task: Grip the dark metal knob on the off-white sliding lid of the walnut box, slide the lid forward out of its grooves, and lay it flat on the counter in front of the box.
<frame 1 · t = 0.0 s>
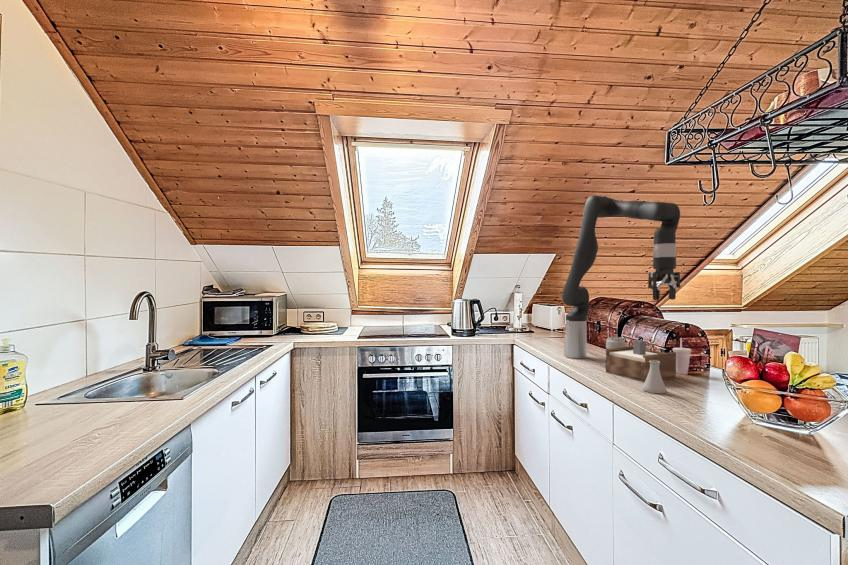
hand: (664, 299, 160), 29 cm above the table, tool pointing down, fingers open, 8 cm apart
smoothie: (681, 374, 167), on the table
lid: (639, 357, 165), point 7 cm above the table, touching walnut box
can: (615, 365, 183), on the table
walnut box: (639, 375, 165), on the table
flask: (654, 391, 142), on the table
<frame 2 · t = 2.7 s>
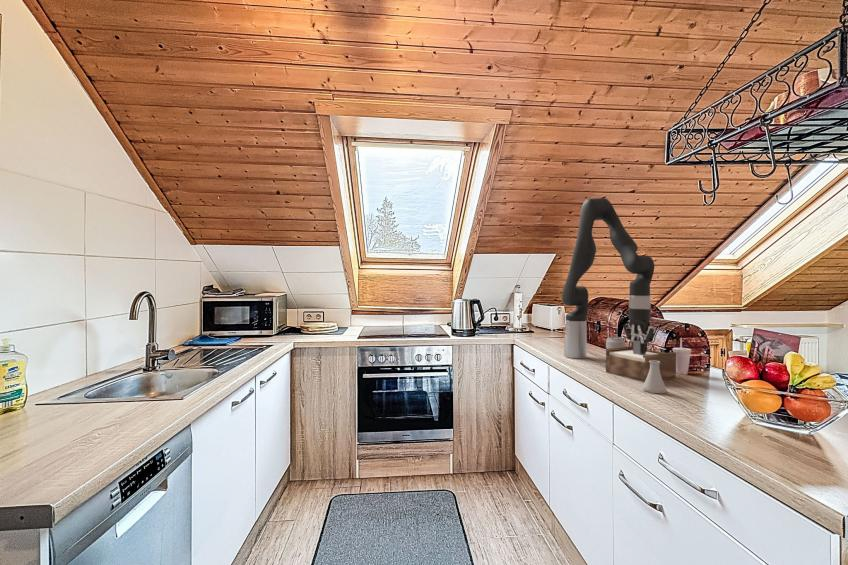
hand: (639, 351, 165), 9 cm above the table, tool pointing down, fingers closed on lid, 3 cm apart
lid: (639, 356, 165), point 7 cm above the table, touching gripper, walnut box
everything else where it was.
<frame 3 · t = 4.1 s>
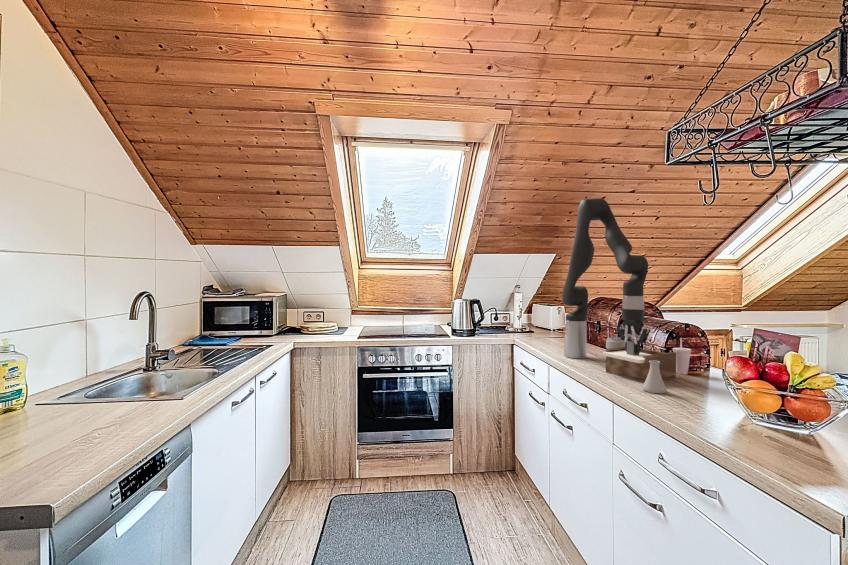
hand: (632, 352, 163), 9 cm above the table, tool pointing down, fingers closed on lid, 3 cm apart
lid: (632, 357, 163), point 7 cm above the table, touching gripper
everything else where it was.
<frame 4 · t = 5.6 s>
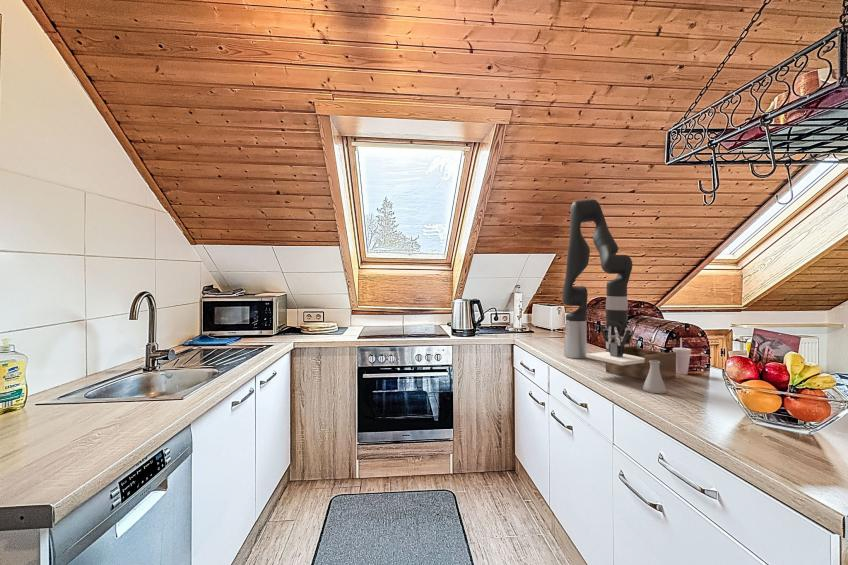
hand: (616, 354, 160), 9 cm above the table, tool pointing down, fingers closed on lid, 3 cm apart
lid: (616, 359, 160), point 7 cm above the table, touching gripper
everything else where it was.
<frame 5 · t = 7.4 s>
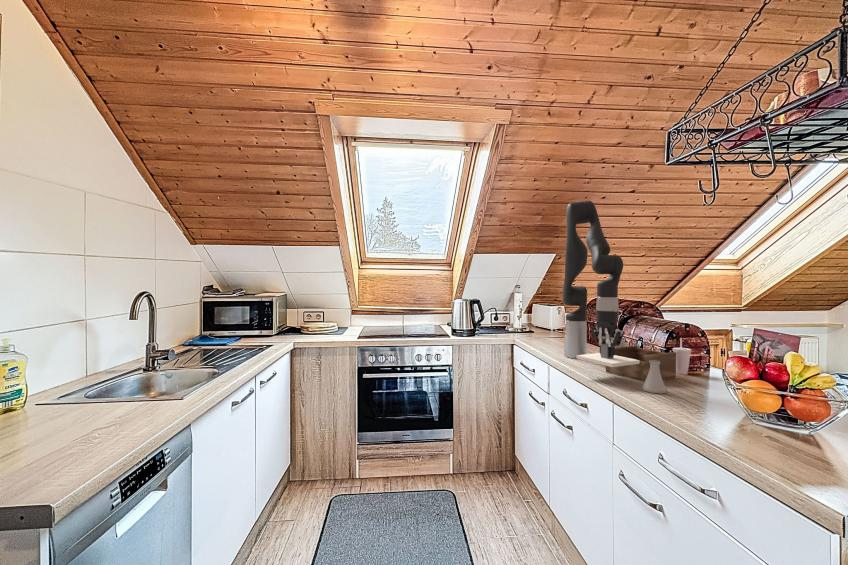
hand: (607, 355, 158), 9 cm above the table, tool pointing down, fingers closed on lid, 3 cm apart
lid: (607, 360, 158), point 7 cm above the table, touching gripper
everything else where it was.
when the fingers open (5 cm above the table, at t = 8.5 s): lid drops 3 cm, on the table.
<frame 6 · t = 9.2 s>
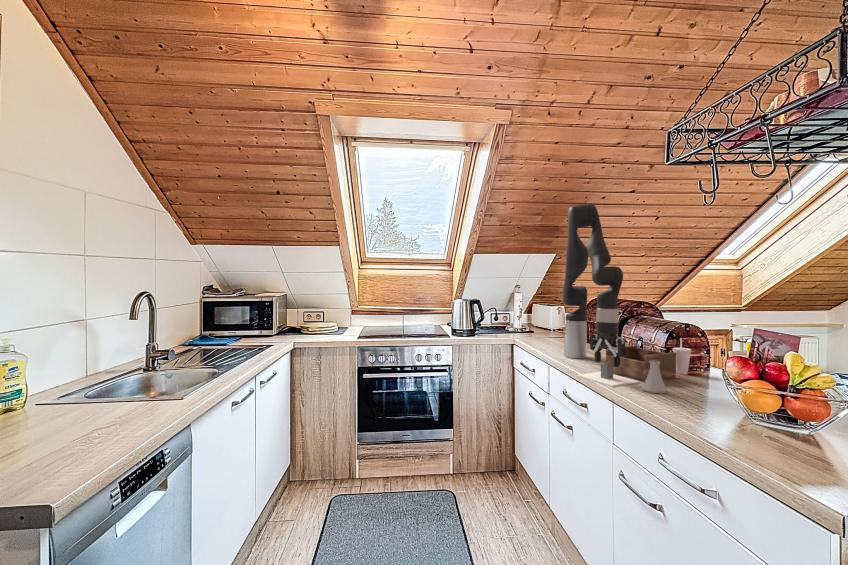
hand: (607, 364, 158), 6 cm above the table, tool pointing down, fingers open, 8 cm apart
lid: (607, 381, 158), on the table
everything else where it was.
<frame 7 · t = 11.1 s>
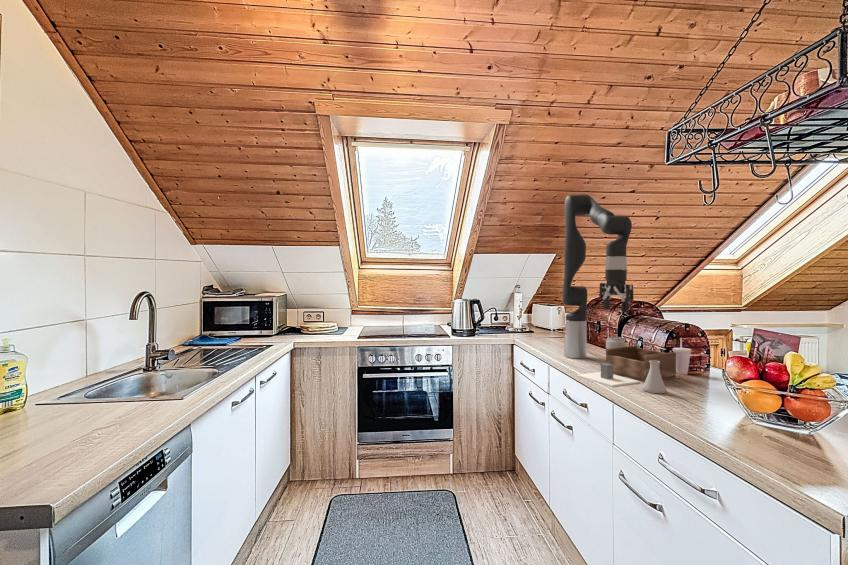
hand: (615, 310, 165), 25 cm above the table, tool pointing down, fingers open, 8 cm apart
nothing on the table moved.
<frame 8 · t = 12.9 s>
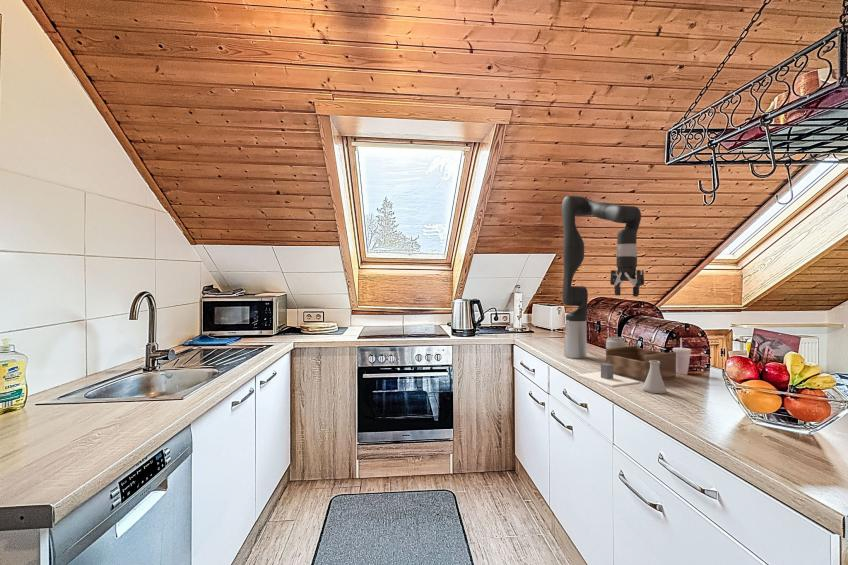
hand: (626, 295, 172), 30 cm above the table, tool pointing down, fingers open, 8 cm apart
nothing on the table moved.
at the end: lid inside the target area (0.1 cm from its centre), on the table; lid tilted 0°; the gripper is holding nothing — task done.
